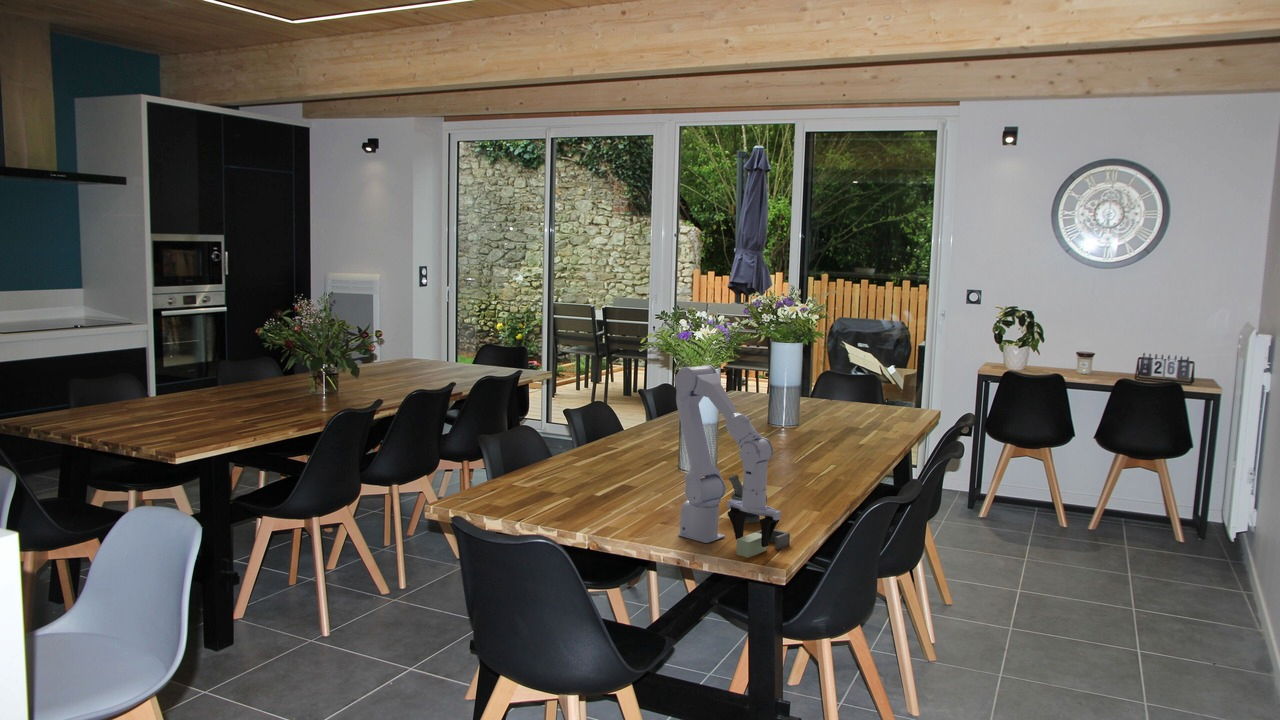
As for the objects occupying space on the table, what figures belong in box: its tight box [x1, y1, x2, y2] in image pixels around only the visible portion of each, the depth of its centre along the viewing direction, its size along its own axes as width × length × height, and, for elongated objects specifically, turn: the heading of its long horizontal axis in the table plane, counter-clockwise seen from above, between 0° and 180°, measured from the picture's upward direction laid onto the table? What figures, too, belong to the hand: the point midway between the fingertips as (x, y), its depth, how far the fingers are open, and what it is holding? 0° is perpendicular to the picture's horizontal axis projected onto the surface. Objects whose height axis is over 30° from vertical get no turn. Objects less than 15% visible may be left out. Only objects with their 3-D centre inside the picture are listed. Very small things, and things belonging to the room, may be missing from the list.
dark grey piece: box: [755, 528, 791, 550], centre depth 237 cm, size 7×6×3 cm
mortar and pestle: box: [728, 474, 768, 524], centre depth 258 cm, size 11×9×12 cm
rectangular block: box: [735, 531, 768, 558], centre depth 230 cm, size 8×4×4 cm, turn 139°
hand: (751, 542), depth 230 cm, fingers open, 7 cm apart
